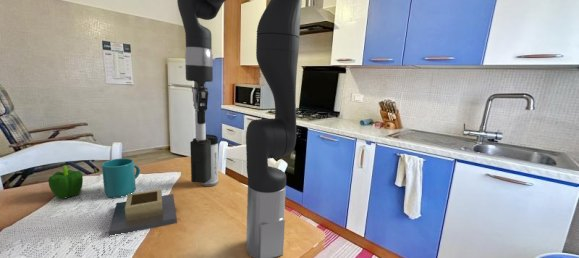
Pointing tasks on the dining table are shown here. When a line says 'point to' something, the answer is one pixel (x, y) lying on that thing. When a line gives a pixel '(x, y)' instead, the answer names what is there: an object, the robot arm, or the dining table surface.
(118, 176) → the cup
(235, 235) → the dining table surface
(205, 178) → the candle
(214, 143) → the travel mug
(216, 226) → the dining table surface
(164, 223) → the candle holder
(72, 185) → the bell pepper
